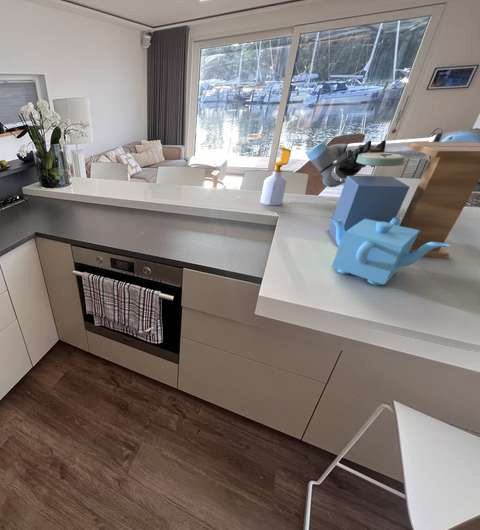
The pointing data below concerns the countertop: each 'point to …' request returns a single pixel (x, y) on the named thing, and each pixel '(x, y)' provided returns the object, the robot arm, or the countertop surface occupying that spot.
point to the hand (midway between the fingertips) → (376, 145)
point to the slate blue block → (368, 200)
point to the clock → (379, 158)
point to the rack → (442, 191)
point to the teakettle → (377, 249)
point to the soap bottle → (275, 182)
